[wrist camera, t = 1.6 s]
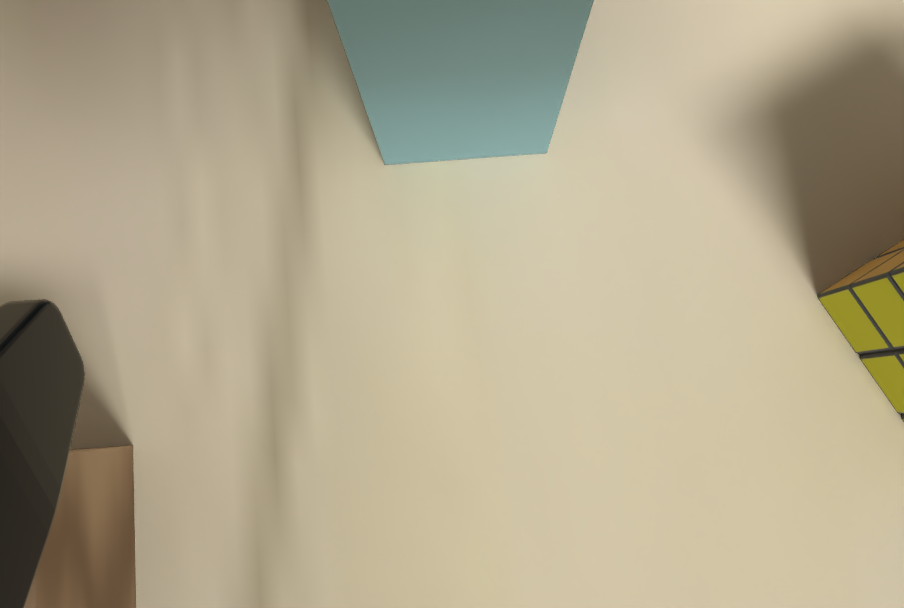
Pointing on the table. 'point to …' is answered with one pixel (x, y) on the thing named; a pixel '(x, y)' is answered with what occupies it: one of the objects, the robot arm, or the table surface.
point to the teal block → (461, 73)
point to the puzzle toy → (874, 318)
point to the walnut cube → (90, 535)
